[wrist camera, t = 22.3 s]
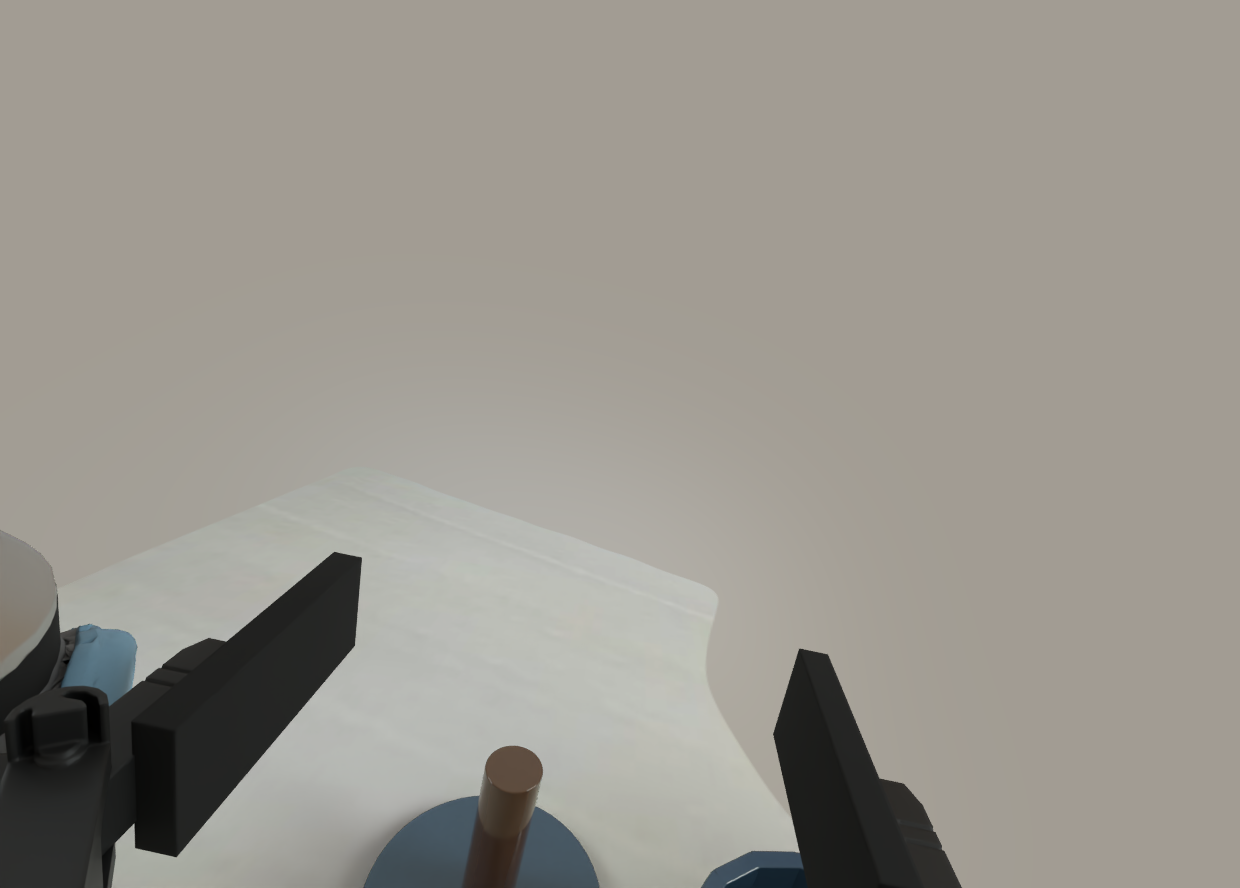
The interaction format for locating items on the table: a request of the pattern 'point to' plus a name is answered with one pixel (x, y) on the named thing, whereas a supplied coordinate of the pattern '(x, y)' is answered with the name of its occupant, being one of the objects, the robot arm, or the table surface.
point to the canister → (760, 871)
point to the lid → (488, 838)
